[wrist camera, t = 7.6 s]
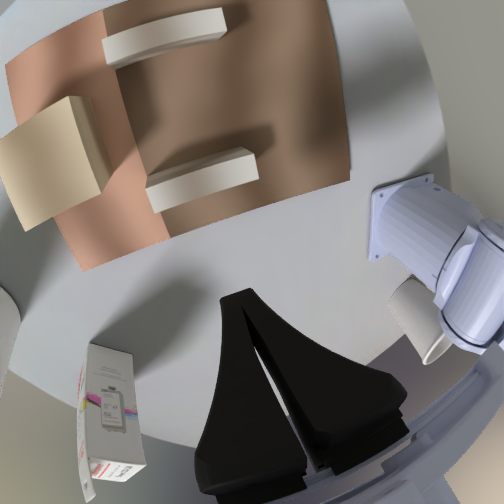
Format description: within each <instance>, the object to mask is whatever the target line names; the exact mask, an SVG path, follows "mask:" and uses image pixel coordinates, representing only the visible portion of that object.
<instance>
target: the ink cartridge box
mask: <svg viewBox="0 0 504 504" xmlns="http://www.w3.org/2000/svg"><path fill="white" fill-rule="evenodd" d="M77 447H78V465H79V475H80V480H81V485H82V489H83V493H84V497H85V501H86V502H88V501H90V500H91V499H92V498H93V497H94V496H96V491H95V487H94V483H93V480H92V478H97V479H104V480H112V481H121V482H125V481H126V480H128V479H129V478H130V477H132V476H133V475H134V474H135V473H137V472H138V471H139V470H141V469H142V468H143V467H145V466H146V461H145V457H144V452H143V446H142V441H141V434H140V428H139V421H138V413H137V406H136V396H135V385H134V372H133V355H132V354H129V353H124V352H120V351H116V350H113V349H109V348H105V347H102V346H98V345H95V344H91V343H89V344H88V347H87V351H86V355H85V359H84V363H83V367H82V372H81V377H80V383H79V389H78V407H77ZM86 481H87V483H88V487H87V488H86Z"/></svg>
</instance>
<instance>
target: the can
mask: <svg viewBox="0 0 504 504" xmlns="http://www.w3.org/2000/svg"><path fill="white" fill-rule="evenodd" d="M20 324H21V317H20V313H19V310H18V307H17V305H16V303H15V301H14V300H13V298H12V297H11V296H10V294H9V293H8V292H7V291H6V290H5V289H4V288H3V287H1V286H0V398H1V393H2V388H3V384H4V379H5V375H6V371H7V367H8V364H9V360H10V356H11V353H12V349H13V346H14V343H15V340H16V337H17V334H18V331H19V327H20Z"/></svg>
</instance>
